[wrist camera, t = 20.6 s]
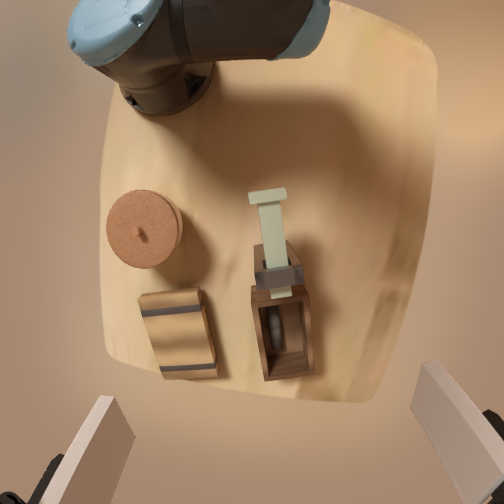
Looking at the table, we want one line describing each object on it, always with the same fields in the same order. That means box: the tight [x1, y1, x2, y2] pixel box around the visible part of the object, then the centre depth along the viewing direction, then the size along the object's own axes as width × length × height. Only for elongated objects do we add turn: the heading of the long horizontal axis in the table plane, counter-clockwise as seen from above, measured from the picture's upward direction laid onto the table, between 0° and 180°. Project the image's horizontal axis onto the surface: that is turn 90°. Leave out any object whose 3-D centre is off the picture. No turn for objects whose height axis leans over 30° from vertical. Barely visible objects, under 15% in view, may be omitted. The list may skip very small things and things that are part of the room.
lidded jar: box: [106, 190, 183, 269], centre depth 40 cm, size 11×11×9 cm
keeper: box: [254, 240, 304, 291], centre depth 38 cm, size 2×5×14 cm, turn 99°
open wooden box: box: [251, 284, 314, 381], centre depth 45 cm, size 14×8×7 cm, turn 9°
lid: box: [138, 287, 219, 380], centre depth 47 cm, size 16×10×4 cm, turn 9°
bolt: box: [248, 187, 292, 299], centre depth 33 cm, size 12×4×4 cm, turn 9°
